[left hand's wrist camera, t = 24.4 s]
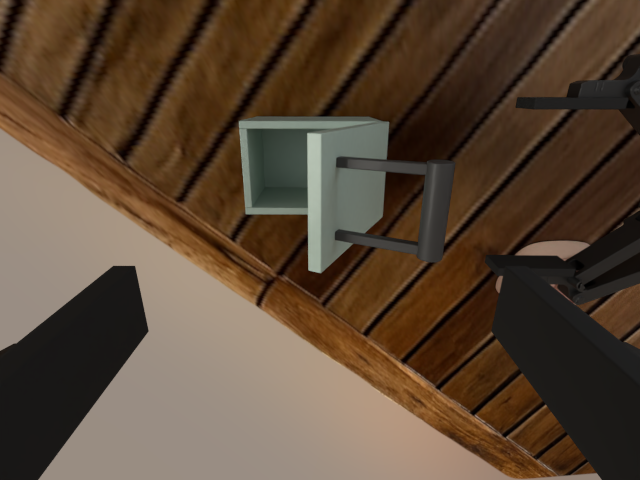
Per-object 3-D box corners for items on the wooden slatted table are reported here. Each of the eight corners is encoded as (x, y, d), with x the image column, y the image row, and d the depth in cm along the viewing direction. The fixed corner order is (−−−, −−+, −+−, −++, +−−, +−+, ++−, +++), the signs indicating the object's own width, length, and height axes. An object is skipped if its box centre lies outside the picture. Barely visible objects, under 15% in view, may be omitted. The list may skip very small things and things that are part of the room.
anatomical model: (500, 317, 51) (529, 243, 46) (488, 302, 54) (513, 232, 50) (590, 328, 51) (625, 255, 47) (571, 312, 55) (603, 244, 51)
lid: (308, 270, 26) (432, 298, 22) (306, 132, 22) (453, 139, 19) (373, 215, 38) (459, 227, 35) (378, 121, 35) (475, 123, 31)
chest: (260, 191, 48) (245, 214, 38) (256, 116, 45) (238, 120, 35) (365, 191, 48) (377, 214, 38) (369, 116, 45) (383, 121, 35)
